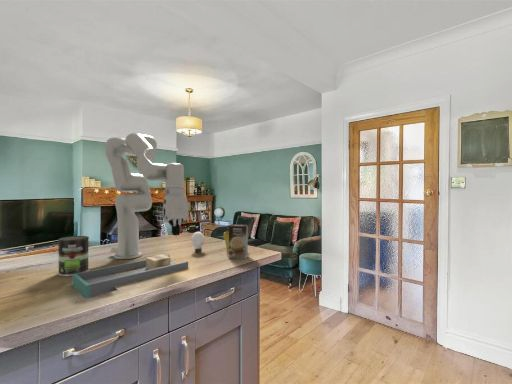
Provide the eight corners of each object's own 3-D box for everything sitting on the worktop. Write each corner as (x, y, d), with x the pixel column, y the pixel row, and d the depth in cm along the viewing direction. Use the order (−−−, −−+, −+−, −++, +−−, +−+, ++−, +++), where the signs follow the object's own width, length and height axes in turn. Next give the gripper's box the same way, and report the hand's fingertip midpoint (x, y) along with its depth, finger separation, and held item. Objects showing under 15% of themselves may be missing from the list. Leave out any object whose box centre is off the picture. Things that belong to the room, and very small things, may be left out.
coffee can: (87, 274, 107) (87, 239, 107) (55, 278, 102) (55, 241, 102) (90, 267, 116) (89, 234, 116) (61, 270, 111) (60, 236, 111)
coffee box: (227, 258, 131) (227, 225, 131) (230, 255, 137) (230, 224, 137) (246, 259, 130) (246, 226, 130) (248, 255, 136) (248, 224, 136)
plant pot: (234, 253, 141) (235, 235, 141) (219, 251, 146) (219, 233, 146) (246, 249, 150) (246, 232, 149) (231, 247, 155) (231, 230, 155)
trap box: (168, 263, 122) (168, 254, 122) (188, 271, 111) (188, 261, 111) (72, 285, 95) (72, 274, 94) (86, 298, 84) (86, 285, 84)
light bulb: (203, 253, 140) (203, 232, 140) (190, 253, 140) (190, 232, 140) (205, 250, 147) (205, 230, 147) (192, 250, 147) (192, 230, 146)
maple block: (162, 264, 115) (162, 254, 115) (170, 268, 110) (170, 257, 110) (146, 268, 110) (146, 257, 109) (154, 272, 105) (154, 260, 105)
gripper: (163, 192, 107) (164, 238, 107) (194, 191, 118) (195, 233, 118) (154, 192, 112) (155, 236, 112) (185, 192, 123) (186, 232, 123)
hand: (175, 234), depth 115 cm, fingers closed
